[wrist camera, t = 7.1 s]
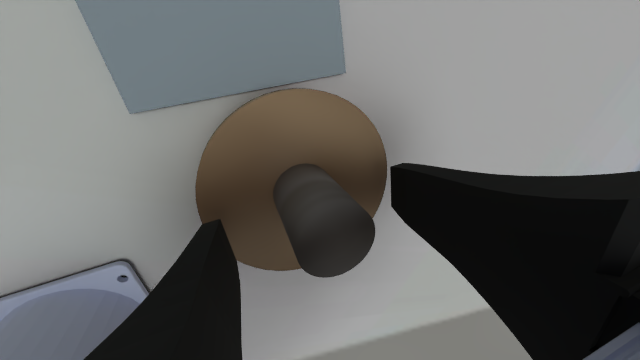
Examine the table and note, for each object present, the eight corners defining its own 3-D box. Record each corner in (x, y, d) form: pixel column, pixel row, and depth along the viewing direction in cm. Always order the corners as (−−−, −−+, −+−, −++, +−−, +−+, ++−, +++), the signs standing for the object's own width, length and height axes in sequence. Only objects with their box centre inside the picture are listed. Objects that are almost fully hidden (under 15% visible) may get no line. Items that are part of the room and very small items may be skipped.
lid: (384, 229, 15) (441, 285, 11) (234, 287, 13) (240, 381, 9) (375, 70, 11) (459, 69, 7) (158, 115, 9) (108, 149, 5)
